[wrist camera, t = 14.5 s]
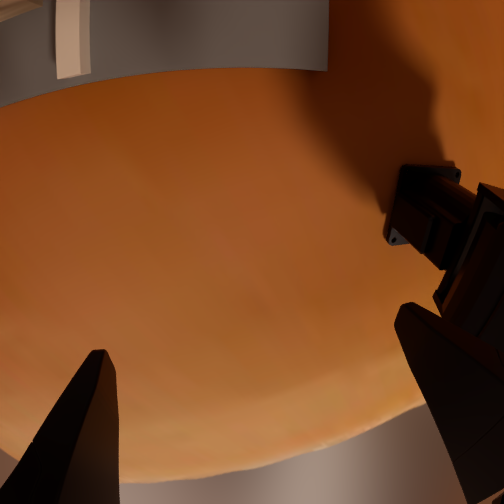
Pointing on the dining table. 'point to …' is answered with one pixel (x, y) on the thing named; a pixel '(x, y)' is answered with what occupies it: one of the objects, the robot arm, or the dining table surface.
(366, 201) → the dining table surface
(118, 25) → the board
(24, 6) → the block
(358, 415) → the dining table surface
